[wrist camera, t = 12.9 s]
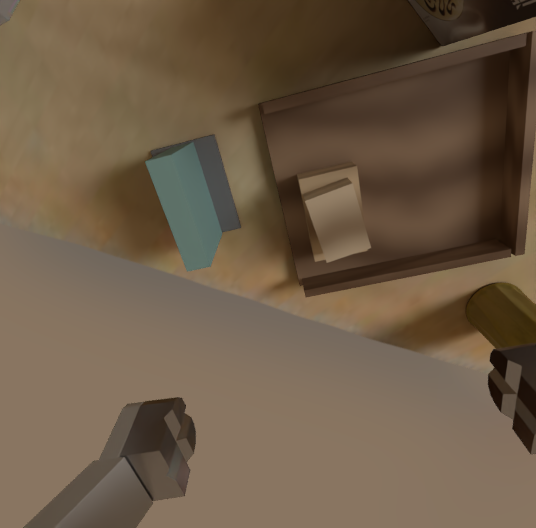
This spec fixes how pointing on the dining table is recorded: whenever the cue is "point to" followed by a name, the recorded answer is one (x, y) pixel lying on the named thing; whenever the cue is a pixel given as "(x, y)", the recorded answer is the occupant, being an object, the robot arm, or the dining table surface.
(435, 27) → the coffee box
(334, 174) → the offcut low
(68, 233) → the dining table surface
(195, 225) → the teal rectangular block
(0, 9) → the french press
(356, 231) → the offcut top
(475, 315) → the vase
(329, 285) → the brown wooden tray
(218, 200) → the mat
